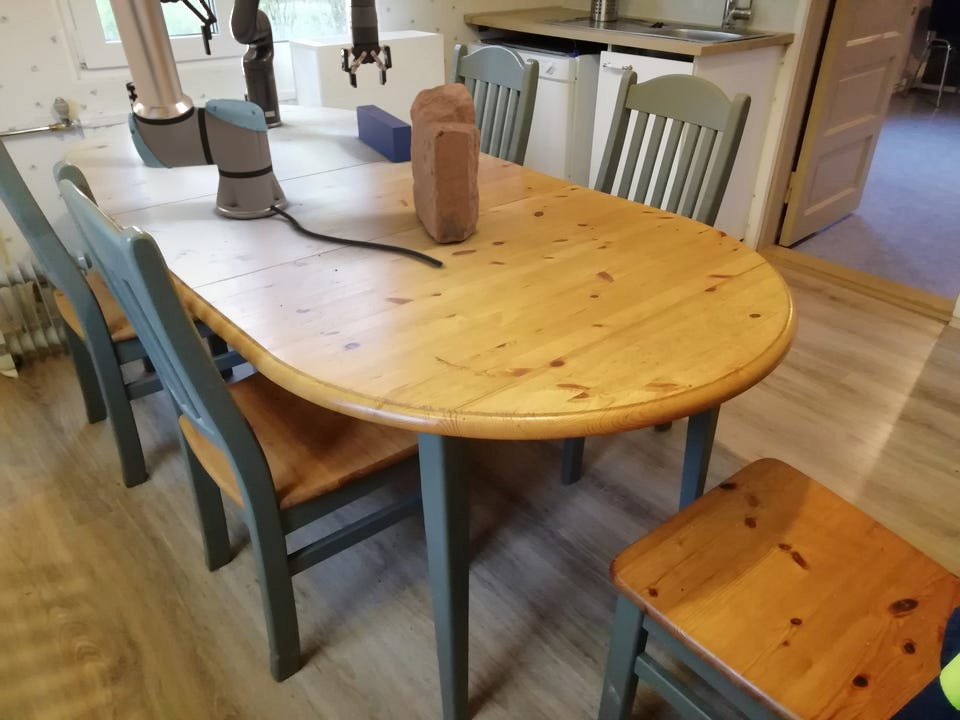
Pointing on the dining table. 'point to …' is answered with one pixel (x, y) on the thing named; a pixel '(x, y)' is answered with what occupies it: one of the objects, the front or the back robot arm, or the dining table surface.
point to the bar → (384, 133)
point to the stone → (445, 161)
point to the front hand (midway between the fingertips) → (180, 56)
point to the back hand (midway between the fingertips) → (368, 86)
